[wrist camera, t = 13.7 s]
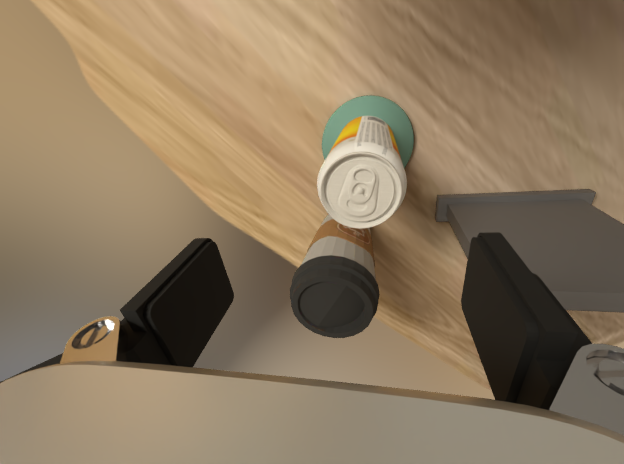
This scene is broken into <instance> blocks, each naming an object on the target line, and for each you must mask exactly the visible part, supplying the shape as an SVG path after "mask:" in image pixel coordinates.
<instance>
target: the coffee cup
mask: <svg viewBox="0 0 624 464" xmlns="http://www.w3.org/2000/svg"><path fill="white" fill-rule="evenodd" d="M374 267H375V263H374V254H373V245H372V238H371V233H370V228H362V229H359V228H351V227H347V226H345V225H342V224H340V223H339V222H337V221H336V220H334V219H333V218H332V217H331V216H330V215H327V217H326V218H325V219H324V221H323V223H322V225H321V227H320V228H319V230H318V231H317V233H316V235H315V237H314V239H313V241H312V243H311V245H310V247H309V248H308V251H307V254H306V256H305V258H304V260H303V262H302V264H301V266H300V267H299V268H298V269H297V271H296V272H295V274H294V277H293V279H292V285H291V288H290V299H291V304H292V309H293V312H294V315H295V316H296V317H297V319H298V320H299V322H300V323H302V324H303V325H304V326H305V327H306V328H308V329H309V330H311V331H313V332H314V333H317V334H320V335H322V336H327V337H333V338H345V337H349V336H354V335H356V334H358V333H360V332H362V331H363V330H364V329H365V328H366V327H368V325H369V323H370V322H371V320H372V318H373V316H374V315H375V313H376V311H377V306H378V299H379V289H378V284H377V282H376V279H375V270H374Z"/></svg>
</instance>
